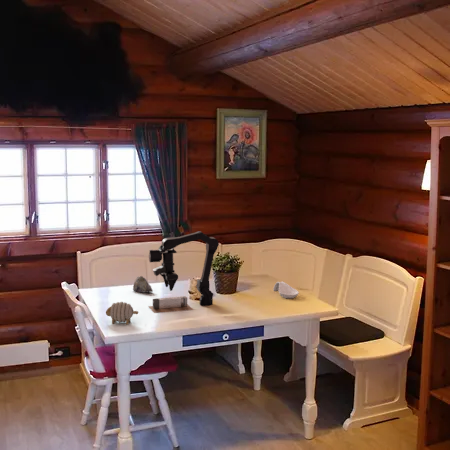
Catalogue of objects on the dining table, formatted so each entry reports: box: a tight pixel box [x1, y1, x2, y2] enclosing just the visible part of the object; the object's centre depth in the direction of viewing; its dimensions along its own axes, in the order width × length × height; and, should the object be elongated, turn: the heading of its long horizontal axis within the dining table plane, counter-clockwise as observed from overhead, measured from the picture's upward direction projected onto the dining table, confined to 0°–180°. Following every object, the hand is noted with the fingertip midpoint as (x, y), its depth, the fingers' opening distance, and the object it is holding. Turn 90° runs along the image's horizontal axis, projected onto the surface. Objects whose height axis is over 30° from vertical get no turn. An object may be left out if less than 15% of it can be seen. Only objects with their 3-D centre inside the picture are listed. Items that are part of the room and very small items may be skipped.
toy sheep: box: [105, 301, 139, 325], centre depth 331 cm, size 11×17×11 cm, turn 88°
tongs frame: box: [152, 295, 188, 308], centre depth 357 cm, size 19×3×5 cm, turn 109°
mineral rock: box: [132, 275, 154, 294], centre depth 395 cm, size 13×11×10 cm
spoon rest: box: [272, 281, 299, 299], centre depth 391 cm, size 24×12×7 cm, turn 20°
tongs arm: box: [152, 296, 184, 309], centre depth 355 cm, size 17×2×5 cm, turn 109°
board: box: [148, 303, 194, 314], centre depth 356 cm, size 22×14×1 cm, turn 109°
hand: (168, 288), depth 357 cm, fingers open, 9 cm apart
